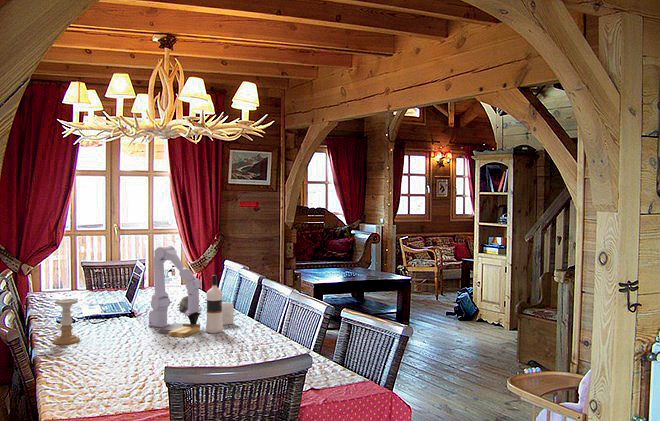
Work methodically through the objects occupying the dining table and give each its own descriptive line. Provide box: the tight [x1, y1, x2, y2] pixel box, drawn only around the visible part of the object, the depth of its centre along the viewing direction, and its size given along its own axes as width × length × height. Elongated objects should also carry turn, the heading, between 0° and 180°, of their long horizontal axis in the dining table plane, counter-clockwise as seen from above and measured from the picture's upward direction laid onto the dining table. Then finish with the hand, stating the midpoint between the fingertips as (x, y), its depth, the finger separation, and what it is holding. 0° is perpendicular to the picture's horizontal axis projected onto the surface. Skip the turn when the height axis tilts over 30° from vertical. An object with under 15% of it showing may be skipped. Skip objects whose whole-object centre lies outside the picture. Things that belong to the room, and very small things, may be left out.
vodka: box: [205, 274, 224, 334], centre depth 331 cm, size 9×9×30 cm
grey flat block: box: [158, 322, 184, 335], centre depth 334 cm, size 8×16×2 cm, turn 163°
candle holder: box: [52, 298, 81, 346], centre depth 307 cm, size 12×12×20 cm
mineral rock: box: [178, 295, 188, 313], centre depth 383 cm, size 13×11×10 cm
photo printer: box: [222, 301, 235, 326], centre depth 349 cm, size 10×4×12 cm, turn 123°
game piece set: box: [224, 344, 268, 360], centre depth 287 cm, size 19×20×4 cm
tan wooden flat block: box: [168, 322, 201, 338], centre depth 327 cm, size 9×16×3 cm, turn 163°
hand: (193, 326), depth 336 cm, fingers closed
